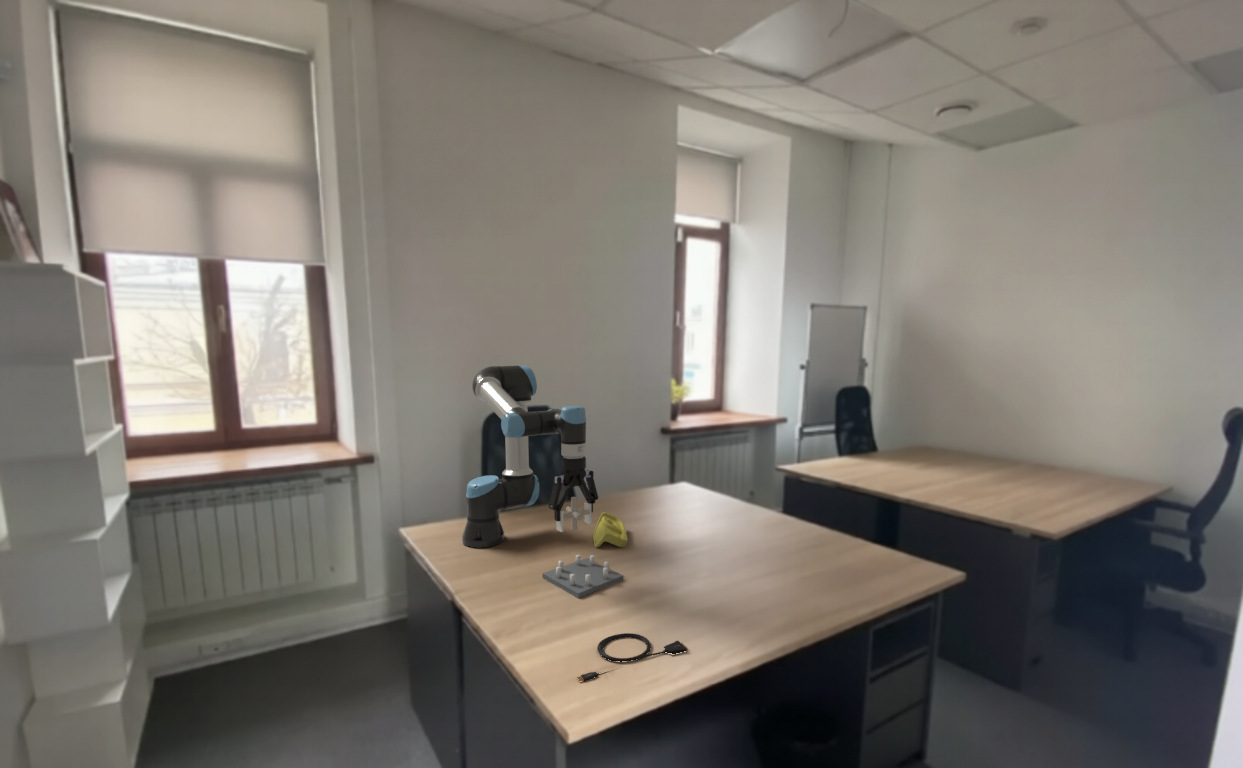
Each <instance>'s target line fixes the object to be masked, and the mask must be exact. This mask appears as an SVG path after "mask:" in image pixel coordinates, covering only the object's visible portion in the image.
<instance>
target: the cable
mask: <svg viewBox="0 0 1243 768" xmlns="http://www.w3.org/2000/svg"><path fill="white" fill-rule="evenodd" d="M625 637H631V638H630V639H634V638H636V639H635V640H638V639H639V641H640V642H642V643H644V642H645V643H644V644H645V645H647V646H646V649H645V650H644V651H643V652H642V653H641V654H638V655H635V656H632V657H631V656H630V657H616V656H615V657H614V656H612V655H609V654H607V653H606V652H605V651H604V650H603V648H605V647H604V646H606V645H607V644H609V643H610V641H611V642H613V641H615V639H616V640H619V638H620V639H626V638H625ZM612 640H613V641H612ZM608 642H609V643H608ZM651 645H652V644H651V642H650V640H649V639H648V638H647V637H645V636H644V635H640V634H638V633H637V634H636V633H629V632H628V633H618V634H617V633H616V634H613V635H611V636H608V637H605V638H603V639H602V640H601V641H599V642H598V645H597V648H596V649H597V650H596V651H597V652H598V654H599V655H600V656H601V655H602V656H601V658H603V657H604V658H606V659H609V660H611V661H620V662H622V661H631V660H636V659H639V658H641V659H644V658H647V657H651V656H652V655H653V656H657V654H658V655H661V654H660V653H662V654H663V653H665V652H667V653H672V654H676V653H680V652H684V651H687V652H688V646H686V645H685V644H684V643H683V642H681V641H679V640H675V641H674V642H672V643H669V644H666V645H665V646H663V648H665V649H664V650H662V651H658V652H654V653H650V652H651V651H650V648H651V649H652V646H651ZM649 651H650V652H649ZM648 652H649V653H648ZM647 653H648V655H646V654H647ZM665 654H666V653H665ZM653 656H652V657H653ZM604 658H603V659H604ZM606 659H605V660H606ZM639 660H640V659H639ZM611 661H610V662H611ZM636 661H637V660H636ZM599 673H600V672H597V671H591V672H587V673H583V674H580V676H577V677H576V679H577V678H578V679H579V681H586V680H589V679H593V678H594V677H597V676H598V677H599V675H598V674H599ZM598 677H597V678H598ZM578 679H577V680H578ZM594 679H595V678H594ZM594 679H593V680H594ZM579 681H578V682H579ZM589 681H590V680H589ZM586 682H587V681H586Z"/></svg>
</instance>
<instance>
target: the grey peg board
mask: <svg viewBox="0 0 1243 768" xmlns="http://www.w3.org/2000/svg"><path fill="white" fill-rule="evenodd" d="M581 557H582V556H581V554H575V562H574V561H573V562H572V563H569V564H566V565H564V560H558V566H556V567H555V568H554V569H551V570H548V571H546V572H542V579H543V578H544V579H543V580H545V579H546V580H545V581H547V582H548V583H550V582H551V584H552V585H554V586H555V587H557V586H558V588H559V587H560V588H559V589H561V588H562V589H561V590H563V591H564V590H565V591H564V592H566V591H567V593H568V592H569V593H568V594H570V595H571V594H572V595H571V596H573V595H574V596H573V597H575V598H577V599H580V598H582V596H583V597H586V596H588V595H589V594H593V593H595V592H597V590H598V591H600V590H602V589H604V588H607V587H610V586H612V585H615V584H617V583H620V582H622V581H624V574H622V573H620V572H617V571H615V570H613V569H611V568H610V562H609V561H604V562H603V565H602V564H600V563H598V562H596V556H595V554H592V555H591V554H590V555H589V557H587V558H583V559H581ZM619 581H620V582H619ZM609 585H610V586H609ZM599 589H600V590H599ZM594 591H595V592H594ZM592 592H593V593H592ZM587 594H588V595H587Z"/></svg>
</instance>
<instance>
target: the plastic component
mask: <svg viewBox="0 0 1243 768" xmlns="http://www.w3.org/2000/svg"><path fill="white" fill-rule="evenodd" d="M592 539H593V546H595V547H594V548H596V547H598V548H599V547H601V546H602V544H603V543H605V542H607V543H608V544H612V545H614V546H616V547H618V548H625V546H626V543H627V542H628V541H629V540H628V535H627V532H626V526H625V524H624V522H623V521H622V520H621V519H619V518H618V517H616V516H614V515H612V514H611V513H608V512H605V511H604V512H601V514H600V516H599V518H598V521H597V523H596V525H595V528H594V530H593V536H592Z"/></svg>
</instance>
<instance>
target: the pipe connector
mask: <svg viewBox="0 0 1243 768" xmlns="http://www.w3.org/2000/svg"><path fill="white" fill-rule="evenodd" d="M588 514H590V509H584V508H583V509H578V497H576V496H571V498H570V505H567V506H566V507H565V511H564V519H566V518H567V519H568V518H570V519H571V520H570V521H571V522H570V523H571V527H570V529H571V530H572V531H577V530H578V521H582V520H583V518H584V517H583V516H584V515H588Z"/></svg>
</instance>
